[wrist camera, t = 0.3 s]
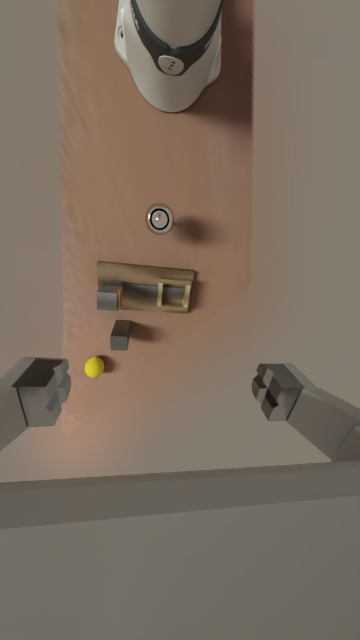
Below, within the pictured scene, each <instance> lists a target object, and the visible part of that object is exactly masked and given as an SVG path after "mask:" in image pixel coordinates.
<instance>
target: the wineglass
mask: <svg viewBox="0 0 360 640" xmlns="http://www.w3.org/2000/svg"><path fill="white" fill-rule="evenodd" d="M145 223H146V226H147V228H148V229H149V230H150V231H151V232H152V233H154V234H156V235H165V234H167V233H168V232H170V231H171V229H172V228H173V225H174V214H173V211H172V210H171V208H170V207H169V206H168V205H166V204H164V203H154V204H152V205H151V206H150V207H149V208H148V209H147V211H146V214H145Z"/></svg>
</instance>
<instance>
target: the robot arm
mask: <svg viewBox="0 0 360 640" xmlns="http://www.w3.org/2000/svg"><path fill="white" fill-rule="evenodd" d="M223 2H224V0H120V1H119V9H118V17H117V24H116V32H115V49H116V52H117V54H118V55H119V57H120V58H121V59H122V61H123V62H124V63H125V64H126V65H127V66H128V68H129V70H130V71H131V74H132V76H133V78H134V81H135V83H136V85H137V87H138V89H139V91H140V92H141V94H142V95H143V96H144V98H145V99H146V100H147V101H148V102H149V103H150V104H151V105H153V106H154V107H156V108H157V109H159V110H162V111H165V112H178V111H182V110H184V109H186V108H187V107H189V106H190V105H191V104H192V103H194V101H195V100H196V99H197V98H198V96H199V95H200V93H201V92H202V90H203V89H204V88H205V87H206V86H207V85H209V84H210V83H212V82H213V81H215V80H216V79H217V78H218V76H219V73H220V70H221V12H222V7H223ZM121 34H123V38H122V37H121ZM215 61H216V62H215ZM68 369H69V364H68V360H67V359H61V358H37V357H24V358H21V359H19V360H18V361H17V363H16V364H15V365H14V366H13V367H12V368H11V369H10V370H9V371H8V372H7V373H6V374H5V375H4V376H3V377H2V378H1V379H0V451H1V450H2V449H4V448H5V447H6V446H7V445H8V444H10V443H11V442H12V441H13V440H14V439H16V438H17V437H18V436H19V435H20V434H22V433H23V432H24V431H25V430H26V429H27V427H40V426H54V425H55V423H56V421H57V419H58V416H59V415H60V413H61V411H62V409H61V404H62V403H64V402H65V401H66V400H67V398H68V396H69V392H70V388H71V377H70V375H68V374H67V373H66V372H67V370H68ZM256 371H257V374H258V375H257V376H256V377H254V378H253V382H252V392H253V395H254V397H255V398H256V400H258V401H259V402H260V403H261V409H262V411H263V413H264V414H265V416H266V418H267V419H268V421H287V422H288V423H289V424H290V425H291V426H292V427H294V428H295V429H296V430H297V431H298V432H300V433H301V434H302V435H303V436H304V437H305V438H306V439H308V440H309V441H310V442H311V443H312V444H313V445H315V446H316V447H317V448H318V449H319V450H320V451H322V452H323V453H324V454H325V455H326V456H327V457H329V458H330V459H331V460H332V461H331V462H326V463H325V462H324V463H309V464H294V465H277V466H261V467H246V468H230V469H214V470H199V471H183V472H166V473H149V474H134V475H117V476H101V477H86V478H85V477H84V478H68V479H53V480H36V481H21V482H4V483H0V640H360V409H359V408H357V407H355V406H353V405H351V404H350V403H348V402H345V401H344V400H342V399H340V398H338V397H336V396H334V395H332V394H331V393H329V392H326V391H325V390H323V389H321V388H317V387H316V386H315V385H314V384H313V383H312V382H311V381H310V380H309V379H308V378H307V377H306V376H305V375H304V374H303V373H302V372H301V371H300V370H299V369H298V368H297V367H296V366H295V365H293V364H291V363H284V364H283V363H281V364H262V363H261V364H259V365H258V367H257V370H256Z"/></svg>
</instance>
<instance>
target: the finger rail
mask: <svg viewBox="0 0 360 640" xmlns="http://www.w3.org/2000/svg"><path fill="white" fill-rule="evenodd" d="M97 272H98V291H97V309H98V310H110V311H117V310H120V309H123V310H139V311H155V312H171V313H188V310H189V304H190V297H191V290H192V284H193V277H194V270H187V269H177V268H166V267H156V266H146V265H135V264H125V263H114V262H104V261H98V262H97Z"/></svg>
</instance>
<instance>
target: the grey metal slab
mask: <svg viewBox="0 0 360 640" xmlns="http://www.w3.org/2000/svg"><path fill="white" fill-rule="evenodd" d="M130 328H131V321H128V320H116V322H115V325H114V327H113V330H112V333H111V336H110V339H111V351H127V350H128V344H129V338H130Z"/></svg>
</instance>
